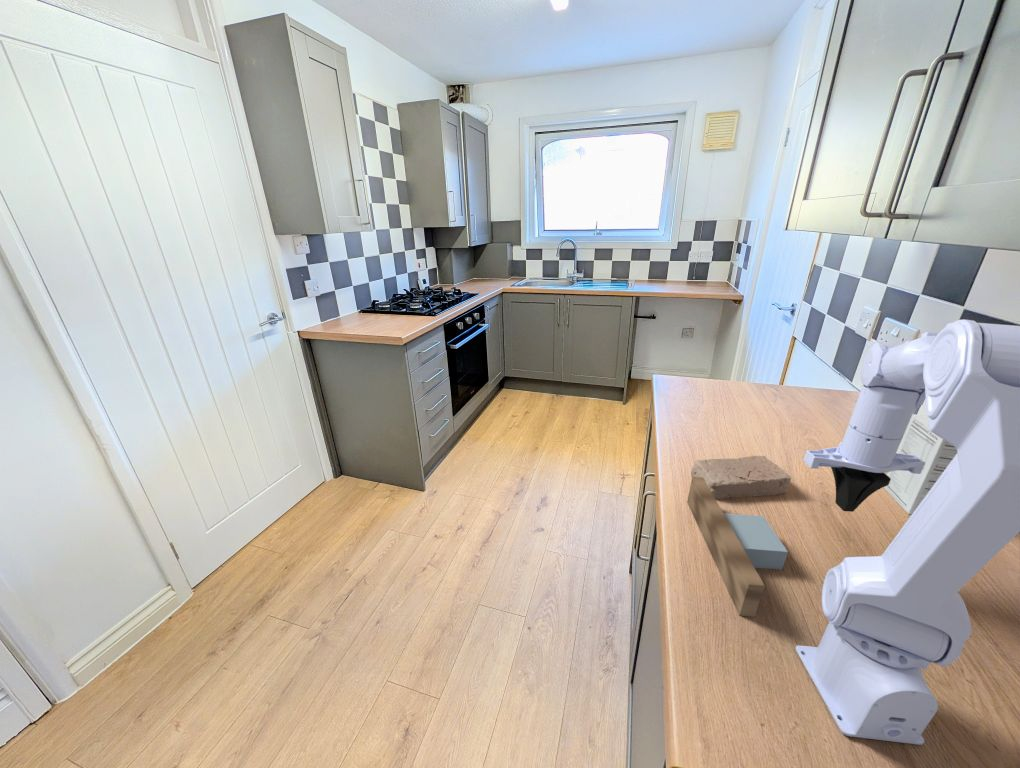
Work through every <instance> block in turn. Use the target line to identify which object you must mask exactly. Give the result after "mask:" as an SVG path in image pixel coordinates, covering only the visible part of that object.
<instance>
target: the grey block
mask: <svg viewBox="0 0 1020 768" xmlns="http://www.w3.org/2000/svg"><path fill="white" fill-rule="evenodd" d="M723 513H724V515H725V517H726V519H727V520H728V522H729V524H730V526H731V527H732V529H733V531H734V533H735V534H736V536H737V538H738V540H739V542H740V543H741V545H742V547H743V549H744V550H745V552H746V554H747V556H748V557H749V559H750V561H751V563H752V564H753V566H754V568H758V569H759V568H760V569H770V570H781V571H782V570H783V568H784V565H785V562H786V558H787V556H788V554H789V551H788V550H787V548H786V546H784V544H783V542H782V541H781V539H780V538H779V537H778V535H777V534H776V532H775V531H774V529H773V528H772V527H771V525H770V524H769V521H767V519H766V518H765V516H764V515H753V514H750V515H749V514H737V513H736V514H735V513H725V512H723Z"/></svg>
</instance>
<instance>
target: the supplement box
mask: <svg viewBox="0 0 1020 768" xmlns="http://www.w3.org/2000/svg"><path fill="white" fill-rule="evenodd" d="M896 453H899V454H906V455H915V456H916V457H918V458H919V459H921V460H922V461H924V462H925V465H924V467H923V469H922V472H921V474H914V473H911V472H910V471H903V470H896V471H891V472H886V475H887V476H889V477H890V479H891V480H890V483H889V485H887V486H885V487H883V488H884V490H885V491H886V492H887V493H888V494H889V495H890V496H891V497H892V499H893V500H894V501H895V502H896V503H898V505H899V506H900V507H901V508H902V509H903V510H904V511H905V512H906V513H907V514H908V515H910V516H911V515H912V514H913V512H914V511H915V510H916V508H917V507H918V506H919V504H920V503H921V502H922V500H923V499H924V498H925V496H926V495H927V493H928V492H929V491H930V489H931V488H932V487H933V485H934V484H935V483H936V481H937V480H938V479H939V477H940V476H941V474H942V473H943V472H944V470H945V469H946V468H947V466H948V465H949V464H950V462H951V461H952V460H953V458H954V457H955V455H956V454H957V449H956V448H955V447H954V446H953V445H951V444H950V443H948V442H947V441H945V440H944V439H942V438H940V437H939V436H937V435H936V434H934V433H933V432H931V431H930V429H929V417H928V415H927V414H926V415H925V414H915V413H913V415H912V417H911V419H910V422H909V424H908V426H907V429H906V431H905V433H904V436H903V438H902V440H901V442H900V445H899V447H898V449H897V452H896Z"/></svg>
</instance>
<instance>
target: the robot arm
mask: <svg viewBox="0 0 1020 768" xmlns="http://www.w3.org/2000/svg"><path fill="white" fill-rule="evenodd" d="M860 377H861V378H860V379H861V380H860V381H861V384H862V386H861V389H860V392H859V395H858V397H857V400H856V403H855V406H854V408H853V411H852V414H851V417H850V418H849V422H848V425H847V427H846V431H845V433H844V436H843V437H842V441H840V442H839V444H838V446H833V447H826V448H822V449H813V450H811V449H807V450H806V452H805V454H804V457H803V460H802V461H803V462H804V463H805V465H806V466H808V467H809V468H810V469H819V467H823V468H825V467H826V468H829V467H830V469H831V471H832V474H833V478H834V484H835V504H836V505H837V506H838V507H839V508H840V509H841V511H843V512H849V513H850V512H851V513H853V512H855V510H856V509H857V508H858V507H859V506H860V505H861V504H862V503H864V501H866V499H867V498H868V497H870V496H871V495H872V494H874V493H875V492H877V491H878V490H880V489H882V488H884V487H885V486H887V485H889V483H890V480H891V479H890V477H889V476H887V473H888V472H891V471H896V470H903V471H910V472H911V473H914V474H921V472H922V469H923V467H924V465H925V462H924V461H922V460H921V459H919V458H918V457H916V456H915V455H906V454H899V453H896V452H897V450H898V448H899V445H900V443H901V440H902V438H903V436H904V433H905V431H906V429H907V426H908V424H909V422H910V419H911V417H912V415H913V414H915V411H916V408H917V409H918V408H921V407H922V406H923V405H924V403H925V410H926V412H925V413H926V415H927V416H928V417H929V429H930V431H931V432H933V433H934V434H936V435H937V436H939V437H940V438H942V439H944V440H945V441H947V442H948V443H950V444H951V445H953V446H954V447H955V448H956V449H957V454H956V455H955V457H954V458H953V460H952V461H951V462H950V464H949V465H948V466H947V468H946V469H945V470H944V472H943V473H942V474H941V476H940V477H939V479H938V480H937V481H936V483H935V484H934V485H933V487H932V488H931V489H930V491H929V492H928V493H927V495H926V496H925V498H924V499H923V500H922V502H921V503H920V504H919V506H918V507H917V508H916V510H915V511H914V512H913V514H912V515H911V514H910V516H909V518H908V519H907V520H906V522H905V523H904V525H903V526H902V527H901V528H900V530H899V531H898V533H897V534H896V536H895V537H894V538H893V539H892V541H891V542H890V543H889V545H888V546H887V548H886V549H885V551H884V552H883V553H882V554H881V555H877V556H876V555H875V556H874V555H872V556H847V557H844V558H843V560H842V561H841V562H840V563H839V564H838V565H836V566H834V567H831V568H830V569H829V570H828V571H827V573H826V574H825V577H824V580H823V585H822V591H821V609H822V612H823V615H824V616H825V618H826V619H827V621H828V624H827V626H826V628H825V630H824V633H823V635H822V638H821V640H820V642H819V644H818V646H810V645H800V644H799V645H796V646H795V651H796V653H797V655H798V657H799V658H800V661H801V662H802V663H803V666H804V668H805V669H806V671H807V672H808V675H809V676H810V678H811V680H812V681H813V683H814V685H815V687H816V689H817V691H818V693H819V694H820V696H821V698H822V700H823V702H824V704H825V705H826V707H827V709H828V711H829V713H830V714H831V716H832V718H833V720H834V721H835V723H836V725H837V726H838V728H839V729H838V730H840V732H841V733H842V734H843V735H844V736H847V737H853V738H861V739H867V740H868V739H869V740H879V741H886V742H896V743H903V744H912V745H917V746H918V745H920V746H922V745H924V743H925V741H926V740H925V739H924V737H923V735H922V734H923V732H924V731H925V729H926V728H927V727H928V725H929V724H930V722H931V721H932V720H933V718H934V717H935V715H936V713H937V711H938V709H939V703H938V700H937V699H936V697H935V695H934V693H933V692H932V691H931V689H930V688H929V685H928V683H927V682H926V680H925V678H924V675H923V672H922V670H925V671H926V670H927V669H928V668H929V666H930V665H931V663H933V664H936V665H938V666H940V667H948V666H950V665H951V664H952V663H954V662H956V661H957V660H958V659H959V658H960V656H961V654H962V653H963V648H964V644H965V643H966V641H967V639H968V638H970V637H971V636H972V623H971V620H970V619H971V618H970V616H969V612H968V609H967V606H966V604H965V602H964V600H963V598H962V596H961V595H960V593H959V591H960V590H961V589H962V588H963V587H964V586H965V585H966V584H967V583H968V582H969V581H970V580H971V579H973V578H974V576H975V575H976V574H977V573H978V572H979V571H981V570H982V569H983V568H984V567H985V566H986V565H987V564H988V563H989V562H990V561H991V560H992V559H993V558H994V557H995V556H996V555H997V554H998V553H999V552H1000V551H1001V550H1003V549H1004V547H1006V545H1008V544H1009V542H1011V541H1012V540H1013V539H1014V538H1015V537H1016V536H1017V535H1018V534H1019V533H1020V325H1013V324H1011V325H1010V324H1000V323H985V322H976V321H975V320H972V319H965V318H964V319H958V320H957V319H956V320H955V321H953V322H949V323H947V324H946V325H945V327H944V328H942V329H941V330H940V331H939V332H933V331H926V332H923V333H921V335H920V337H919V338H916V339H909V340H906V341H905V342H904V343H901V344H899V345H890V344H884V343H882V342H875V343H874V344H873V345H872V346H870V348H869V349H868V351H867V353H866V356H864V360H863V364H862V368H861V375H860Z"/></svg>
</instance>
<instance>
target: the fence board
mask: <svg viewBox="0 0 1020 768" xmlns="http://www.w3.org/2000/svg"><path fill="white" fill-rule="evenodd" d="M716 499H717V498H714V496H713V494H712V492H711V490H710V489H709V487H708V485H707V483H706V482H705V480H704V478H701V477H691V482H690V486H689V492H688V496H687V500H686V503H687V505H688V507H689V509H690V511H691V514H692V516H693V518H694V520H695V522H696V525H697V527H698V529H699V532H700V533H701V536H702V537H703V540H704V542H705V544H706V546H707V549H708V551H709V553H710V555H711V557H712V560H713V562H714V564H715V565H716V568H717V570H718V572H719V575H720V576H721V578H722V581H723V583H724V585H725V587H726V589H727V592H728V593H729V596H730V598H731V600H732V603H733V604H734V607H735V609H736V611H737V613H738V615H739V616H743V617H753V618H754V617H755V616H756V614H757V610H758V607H759V604H760V601H761V598H762V595H763V592H764V589H765V583H764V582H763V580H762V579H761V577H760V575H759V573H758V572H757V570H756V567H754V566H753V564H752V563H751V561H750V559H749V557H748V556H747V554H746V552H745V550H744V549H743V547H742V545H741V543H740V542H739V540H738V538H737V536H736V534H735V533H734V531H733V529H732V527H731V526H730V524H729V522H728V520H727V519H726V517H725V515H724V513H725V512H723V510H722V508H721V507H720V505H719V503H718V501H717V500H716Z"/></svg>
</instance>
